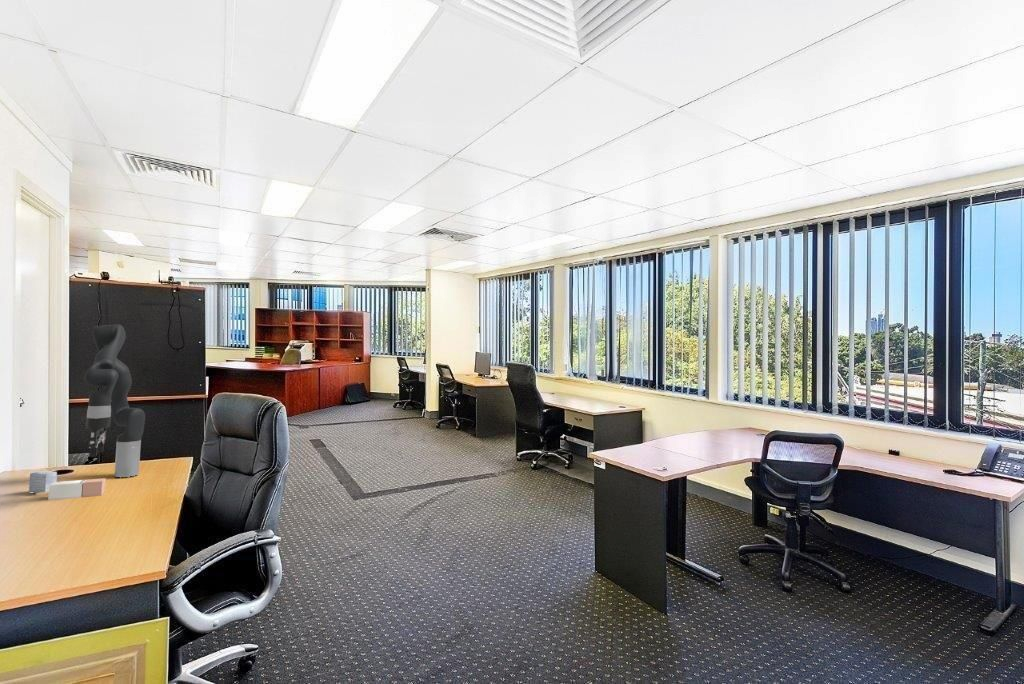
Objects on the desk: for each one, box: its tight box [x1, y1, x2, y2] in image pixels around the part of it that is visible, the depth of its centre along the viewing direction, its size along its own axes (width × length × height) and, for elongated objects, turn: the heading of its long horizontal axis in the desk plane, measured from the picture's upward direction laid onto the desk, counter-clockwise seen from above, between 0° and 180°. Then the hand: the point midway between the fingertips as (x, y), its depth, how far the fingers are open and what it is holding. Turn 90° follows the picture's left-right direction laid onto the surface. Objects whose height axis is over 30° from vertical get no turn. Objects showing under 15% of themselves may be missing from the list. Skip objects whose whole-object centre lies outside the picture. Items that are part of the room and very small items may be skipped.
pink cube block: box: [81, 477, 107, 498], centre depth 191 cm, size 5×6×6 cm
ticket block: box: [47, 479, 87, 501], centre depth 187 cm, size 5×10×6 cm, turn 119°
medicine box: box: [28, 470, 58, 494], centre depth 195 cm, size 8×4×9 cm, turn 84°
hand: (96, 454), depth 192 cm, fingers open, 8 cm apart
